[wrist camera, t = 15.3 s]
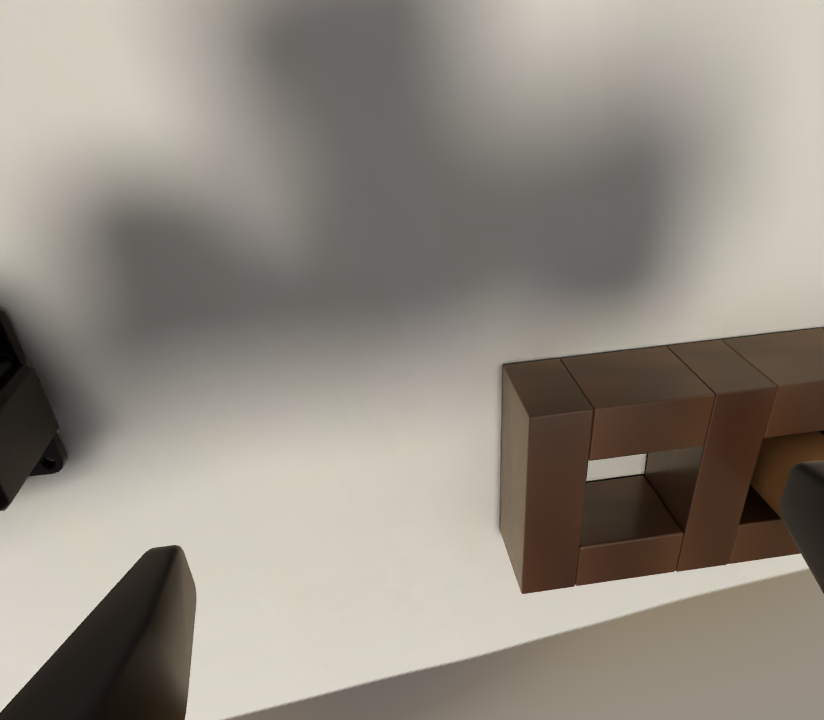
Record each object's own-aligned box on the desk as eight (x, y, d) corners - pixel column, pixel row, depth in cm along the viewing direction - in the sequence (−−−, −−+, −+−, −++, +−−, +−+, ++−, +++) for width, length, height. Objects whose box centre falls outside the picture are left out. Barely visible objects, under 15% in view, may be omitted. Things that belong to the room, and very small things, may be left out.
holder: (499, 530, 27) (521, 594, 24) (502, 364, 23) (529, 417, 20) (815, 487, 29) (874, 543, 25) (874, 320, 24) (953, 365, 21)
